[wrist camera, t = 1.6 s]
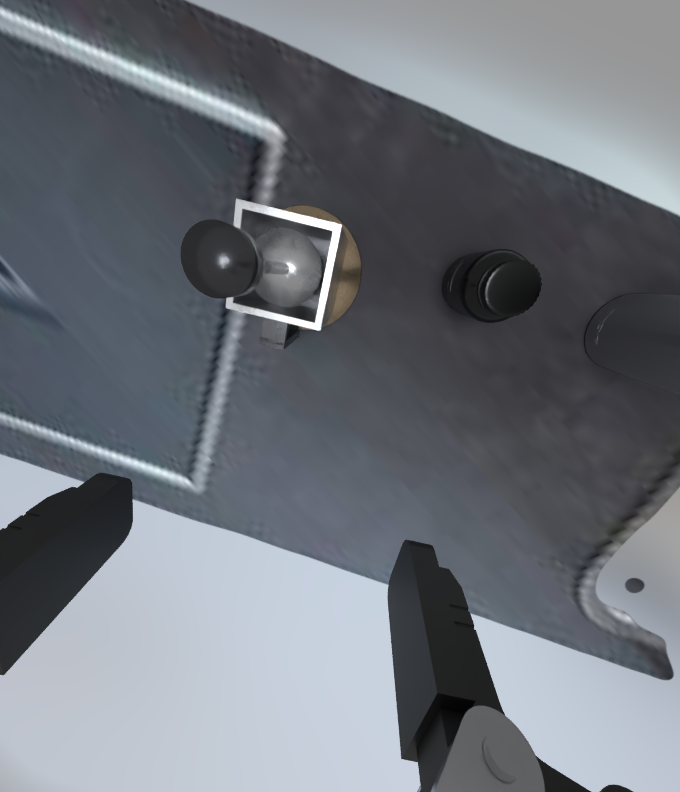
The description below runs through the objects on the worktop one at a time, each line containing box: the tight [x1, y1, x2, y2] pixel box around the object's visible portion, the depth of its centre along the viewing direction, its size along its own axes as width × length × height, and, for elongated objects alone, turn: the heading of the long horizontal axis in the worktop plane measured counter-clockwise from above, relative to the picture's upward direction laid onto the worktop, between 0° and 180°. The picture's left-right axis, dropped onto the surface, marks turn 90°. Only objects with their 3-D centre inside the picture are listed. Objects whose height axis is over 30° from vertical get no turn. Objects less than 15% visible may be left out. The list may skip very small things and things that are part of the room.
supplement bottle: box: [443, 249, 542, 323], centre depth 33 cm, size 7×7×12 cm
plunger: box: [181, 220, 322, 307], centre depth 23 cm, size 7×7×15 cm
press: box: [226, 199, 361, 350], centre depth 34 cm, size 14×14×12 cm
